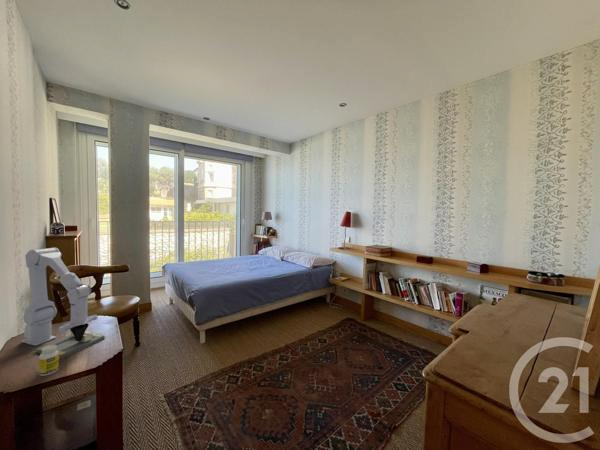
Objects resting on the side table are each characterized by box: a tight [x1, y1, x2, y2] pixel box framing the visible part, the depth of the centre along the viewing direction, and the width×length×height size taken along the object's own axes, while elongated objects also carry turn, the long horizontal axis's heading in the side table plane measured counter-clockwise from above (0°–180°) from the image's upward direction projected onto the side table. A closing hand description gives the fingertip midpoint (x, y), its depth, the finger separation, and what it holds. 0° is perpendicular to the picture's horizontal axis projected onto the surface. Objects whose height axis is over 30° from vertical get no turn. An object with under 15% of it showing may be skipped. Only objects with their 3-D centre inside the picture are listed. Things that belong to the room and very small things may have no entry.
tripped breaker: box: [82, 330, 93, 342], centre depth 115 cm, size 4×3×3 cm
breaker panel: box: [35, 332, 105, 360], centre depth 114 cm, size 15×18×2 cm
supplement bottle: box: [38, 345, 60, 377], centre depth 95 cm, size 5×5×10 cm
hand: (78, 340), depth 113 cm, fingers closed
